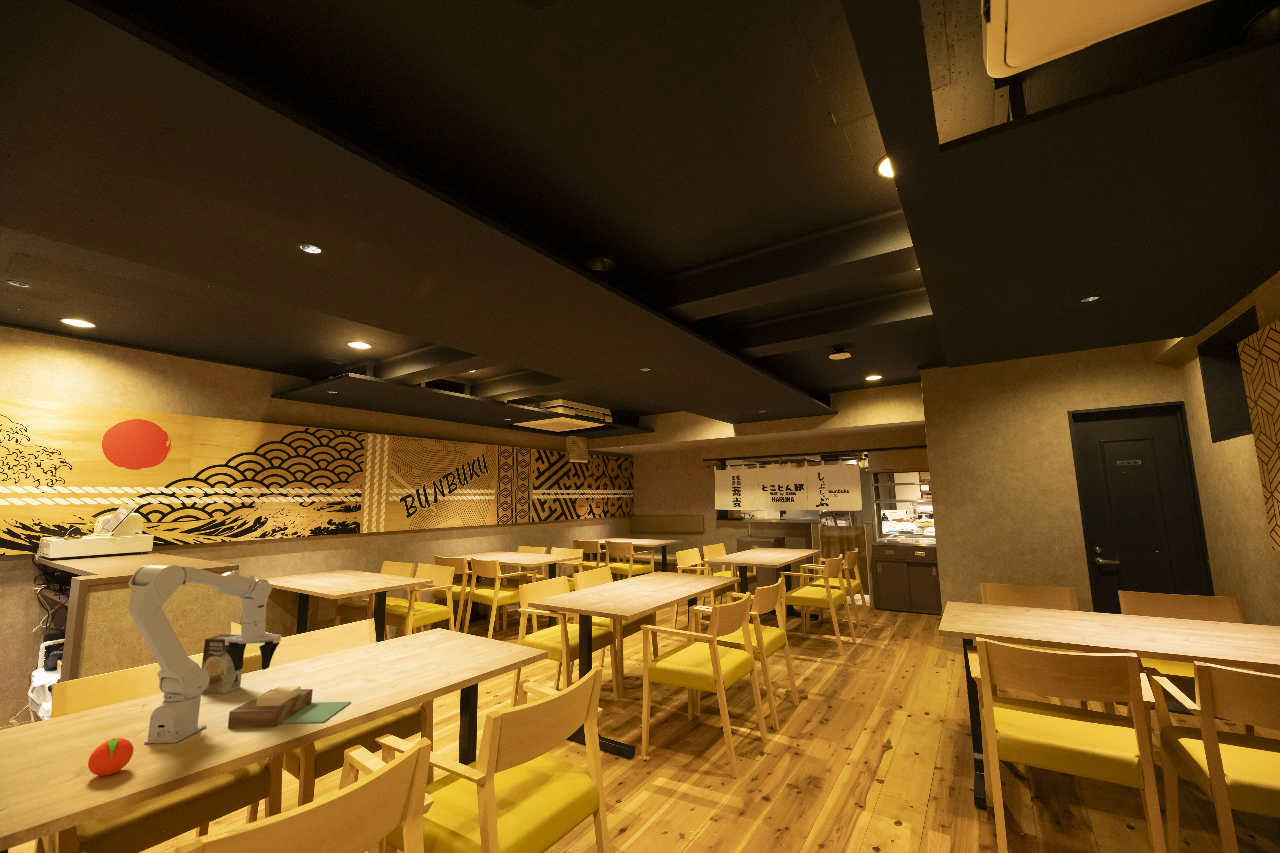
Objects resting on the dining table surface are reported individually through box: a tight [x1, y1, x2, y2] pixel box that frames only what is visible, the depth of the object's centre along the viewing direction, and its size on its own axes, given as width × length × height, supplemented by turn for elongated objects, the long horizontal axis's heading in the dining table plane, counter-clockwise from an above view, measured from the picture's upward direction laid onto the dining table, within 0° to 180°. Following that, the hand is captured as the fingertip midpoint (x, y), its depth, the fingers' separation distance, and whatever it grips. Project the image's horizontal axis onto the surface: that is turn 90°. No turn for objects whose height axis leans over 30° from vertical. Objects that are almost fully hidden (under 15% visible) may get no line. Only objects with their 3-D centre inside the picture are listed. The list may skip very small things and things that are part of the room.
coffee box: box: [201, 633, 244, 695], centre depth 163 cm, size 9×6×16 cm
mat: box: [280, 701, 352, 725], centre depth 144 cm, size 14×11×1 cm
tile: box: [257, 685, 302, 706], centre depth 143 cm, size 9×6×2 cm, turn 2°
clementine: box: [87, 737, 134, 777], centre depth 112 cm, size 8×7×7 cm
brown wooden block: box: [227, 688, 314, 729], centre depth 142 cm, size 16×12×4 cm
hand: (252, 669), depth 149 cm, fingers open, 7 cm apart
